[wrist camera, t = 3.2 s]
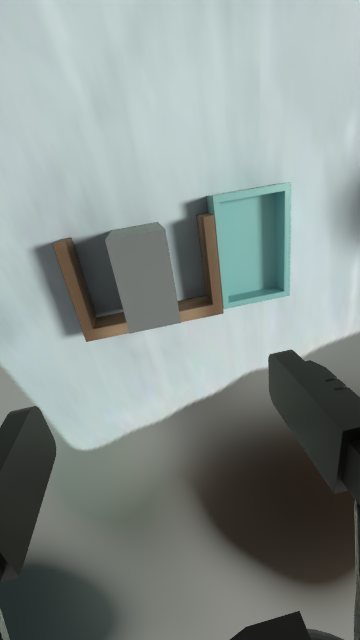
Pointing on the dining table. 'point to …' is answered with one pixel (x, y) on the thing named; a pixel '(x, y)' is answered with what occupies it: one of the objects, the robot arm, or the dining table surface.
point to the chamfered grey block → (144, 276)
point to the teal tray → (253, 243)
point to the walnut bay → (117, 322)
